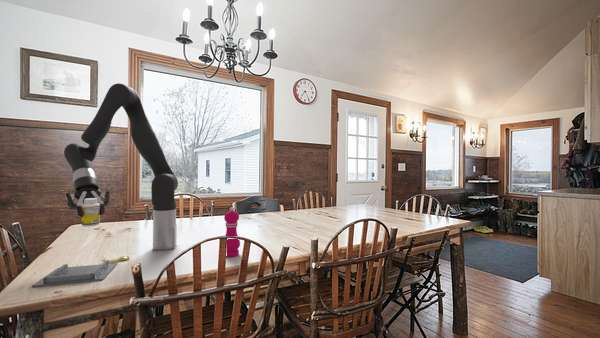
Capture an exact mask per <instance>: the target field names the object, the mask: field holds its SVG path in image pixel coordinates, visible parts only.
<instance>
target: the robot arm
mask: <svg viewBox="0 0 600 338" xmlns="http://www.w3.org/2000/svg"><path fill="white" fill-rule="evenodd" d="M121 107H122V108H123V110H124V111H125V114H126V115H127V117H128V120H129V123H130V125H129V126H130V136H131V139H132V141H133V143H134V145H135V147H136V150H137V152H138V153H139V154H140V156H141V157H142V158H143V159H144V160H145V162H146V163H147V164H148V166H149V167H150V169H151V171H152V172H153V175H154V178H153V179H152V180H151V181H152V182H151V187H150V188H151V192H150V193H151V204H152V207H153V208H152V212H153V213H152V216H153V217H152V250H155V251H166V250H171V249H176V247H177V242H178V241H177V238H178V237H177V236H178V234H177V231H178V230H177V229H178V228H177V203H176V201H175V191H176V190H177V188H178V186H179V182H178V181H179V180H178V178H177V176H176V175H175V173H174V171H173V169H172V168H171V167H170V165H169V163H168V161H167V159H166V155H165V154H164V150H163V149H162V147H161V145H160V142H159V139H158V137H157V135H156V133H155V131H154V130H153V127H152V125H151V123H150V120H149V118H148V117H147V114H146V112H145V109H144V106H143V103H142V101H141V98H140V95H139V93H138V92H137V90H136V89H134V88H133V87H130V86H128V85H126V84H123V83H114V84H112V85H111V86H110V87H109V88H108V91H107V92H106V94H105V96H104V98H103V101H102V102H101V105H100V106H99V109H98V111H97V112H96V114H95V116H94V117H93V119H92V121H91V122H90V123H89V124H88V126H87V127H86V129H85V130H84V131H83V133H82V134H81V136H80V139H81V140H82V141H83V142H84V143H86V145H88V146H84V145H81V144H78V143H75V142H73V143H69V144H68V145H66V146H65V148H64V150H63V154H64V158H65V160H66V162H67V163H68V165H69V166H70V167H71V170H72V183H73V187H74V192H73V193H69V192H67V193H65V196H64V200H65V202H66V204H67V206H68V208H69V210H73V209H74V210H76V211H75V212H76V215H77V217H79V218H81V217H82V216H83V212H82V204H84V199H87V198H97V203H99V204H100V216H103V215H104V214H105V211H106V209H105V207H108V206H109V203H110V191H109V190H108V191H105V192H103V191H101V190H100V188H99V187H100V186H99V183H98V178H97V175H96V172H95V166H94V164H93V163H92V162H93V161H94V160H95V159H96V155H97V152H98V149H99V147H100V145H101V143H102V141H103V140H104V139H105V138H106V136H107V135H108V133H109V131H110V130H111V129H110V128H111V126H112V120H113V118H114V116H115V115H116V113H117V112H118V110H120V109H121ZM101 196H102V198H103V199H104V201H103V200H102V199H101ZM74 198H75V199H76V200H78V201H77V203H75V202H74Z"/></svg>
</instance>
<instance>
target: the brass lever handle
mask: <svg viewBox="0 0 600 338" xmlns="http://www.w3.org/2000/svg"><path fill="white" fill-rule="evenodd" d="M129 260H130V256H129V255H125V256H121V257H119V258H118V257H117V258H114V259H110V260H107V261H108V264H111V263H118V262H126V261H129Z"/></svg>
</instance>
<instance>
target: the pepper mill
mask: <svg viewBox="0 0 600 338" xmlns="http://www.w3.org/2000/svg"><path fill="white" fill-rule="evenodd" d="M223 219H224V221H225V227H226V233H225V236H238V232H237V229H238V228H237V227H238V221H239V219H240V214H239V212H238V211H235V207H232V206H231V207H229V210H228V211H227V212H226V213H224V217H223ZM225 236H224V237H225ZM238 237H239V236H238ZM240 246H241V241H240V239H239V240H238V239H228V240H227V257H226V258H234V257H238V256H239V254H240V250H239V248H240Z"/></svg>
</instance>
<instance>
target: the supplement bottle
mask: <svg viewBox="0 0 600 338" xmlns="http://www.w3.org/2000/svg"><path fill="white" fill-rule="evenodd" d="M82 212H83V216H82V217H80V219H81V226H82V227H87V228H88V227H96V226H98V225H100V223H101V215H100V204H99V203H97V198H87V199H84V202H83V204H82Z"/></svg>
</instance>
